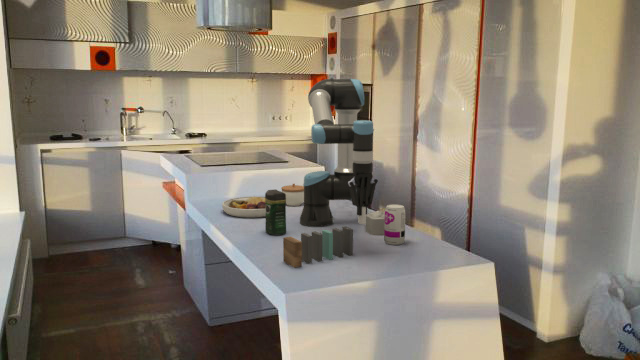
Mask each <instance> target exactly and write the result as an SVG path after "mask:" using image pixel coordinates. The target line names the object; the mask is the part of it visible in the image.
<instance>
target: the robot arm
mask: <svg viewBox="0 0 640 360" xmlns="http://www.w3.org/2000/svg"><path fill="white" fill-rule="evenodd" d="M363 86H364V85H363V83H362V81H361V80H360V79H357V78H325V79H322V80H320V81H318V82H316V83H315V84H314V85H313V86H312V87H311V88H310V90H309V91H308V95H307V96H308V97H307V100H308V104H309V106H310V107H311V110H312V114H313V115H312V117H313V121H314V124H312V125H311V142H312V143H313V144H319V145H332V144H333V145H334V144H335V145H336V144H337V167H336V168H335V169H334V170H333V171H334V172H333V174H330V173H331V172H329V171H328V170H317V171H313V172H312V171H311V172H309V173H306V174H305V175H304V177H303V184H302V186H304V201H303V207H302V210H301V214H300V217H299V223H300V224H301V225H302V226H307V227H315V228H316V227H319V228H320V227H327V226H331V225H332V224H334V217H333V214H332V211H331V206H330V201H346V200H347V201H351V203H352V205H353V206H355V207H356V215H357V216H358V218H357V221H358V224H360V225H366V215H367V214H368V208H369V207H370V205H372V204H373V200H374V195H375V190H376V186H377V184H378V182H379V180H378V179H377V178H374V177H373V172H374V171H373V169H374V168H373V167H374V163H373V161H374V131H375V129H374V122H373V120H367V119H366V120H363V119H362V120H359V119H358V113H360V111H361V107H363V106H364V105H365V92H364V87H363ZM331 106H332V107H333V106H334V111H335V112H336V113H337V123H336V124H335V121H334V117H333V113H332V108H331Z"/></svg>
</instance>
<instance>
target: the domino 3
mask: <svg viewBox="0 0 640 360" xmlns="http://www.w3.org/2000/svg"><path fill="white" fill-rule="evenodd" d="M321 234H323V247H322V258H325V259H327V260H329V261H331V260H333V259H334V255H333V233H332V231H329V230H327V229H322V230H321Z"/></svg>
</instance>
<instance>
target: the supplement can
mask: <svg viewBox="0 0 640 360" xmlns="http://www.w3.org/2000/svg"><path fill="white" fill-rule="evenodd" d="M384 212H385V225H384V235H383V236H384V237H383V241H384V242H385V244H388V245H392V246H398V245H399V246H400V245H403V244H404V243H405V240H406V239H405V238H406V208H405V206H404V205H402V204H396V203H395V204H387V205H386V207H385V209H384Z"/></svg>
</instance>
